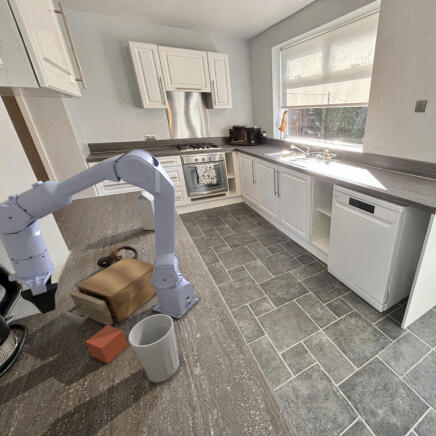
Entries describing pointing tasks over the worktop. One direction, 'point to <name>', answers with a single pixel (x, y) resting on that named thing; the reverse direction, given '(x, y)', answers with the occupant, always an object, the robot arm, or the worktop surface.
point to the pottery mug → (115, 257)
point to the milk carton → (146, 210)
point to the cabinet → (123, 285)
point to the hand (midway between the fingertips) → (47, 302)
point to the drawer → (90, 308)
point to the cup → (156, 346)
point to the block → (107, 343)
